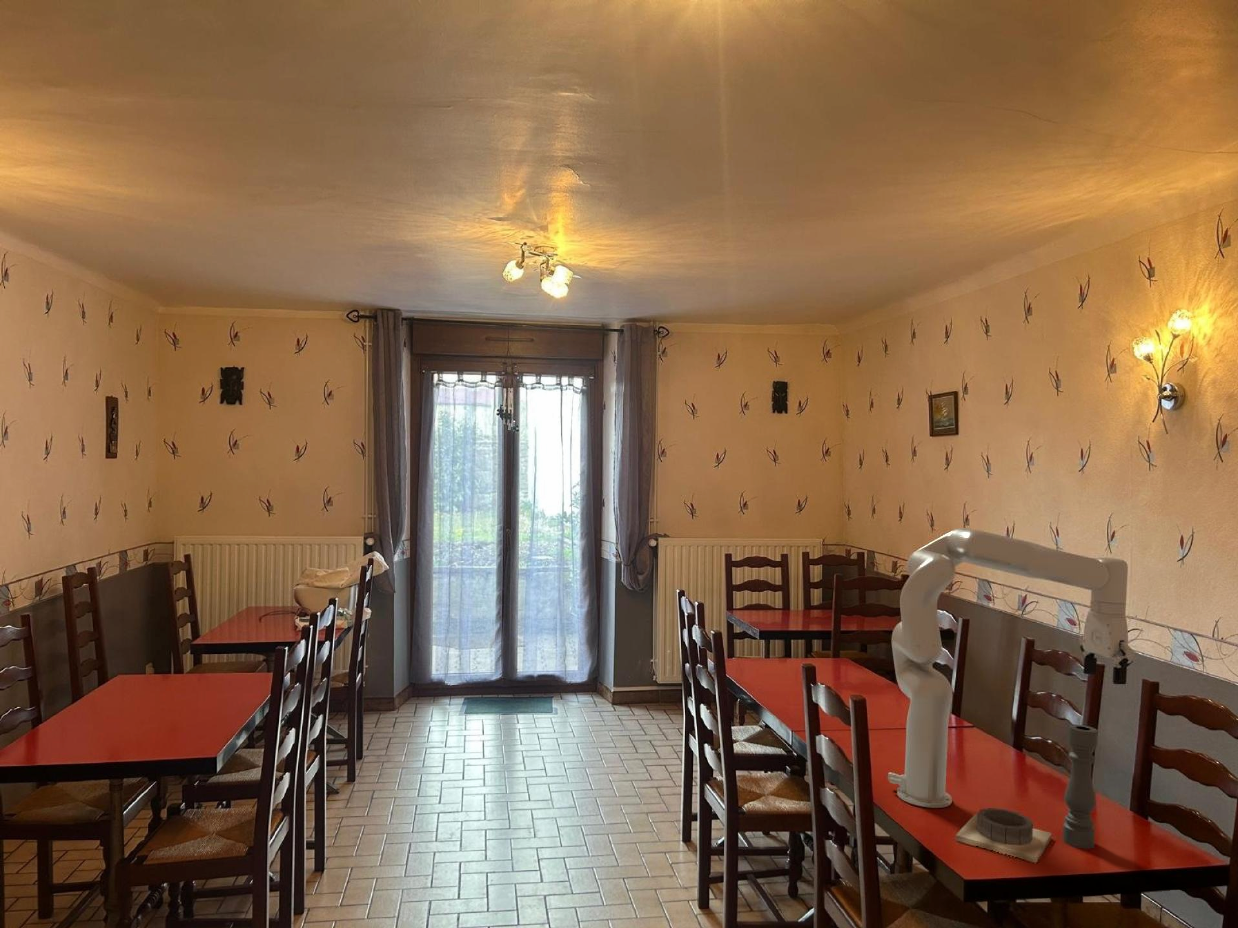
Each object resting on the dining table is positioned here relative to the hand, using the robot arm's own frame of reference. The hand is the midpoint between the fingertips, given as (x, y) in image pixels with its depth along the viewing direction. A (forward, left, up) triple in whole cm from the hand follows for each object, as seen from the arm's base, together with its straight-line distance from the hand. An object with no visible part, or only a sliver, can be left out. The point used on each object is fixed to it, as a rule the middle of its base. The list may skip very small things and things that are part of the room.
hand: (1104, 678), depth 211 cm
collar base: (-13, -37, -31) cm, 51 cm away
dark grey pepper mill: (0, -27, -31) cm, 42 cm away
